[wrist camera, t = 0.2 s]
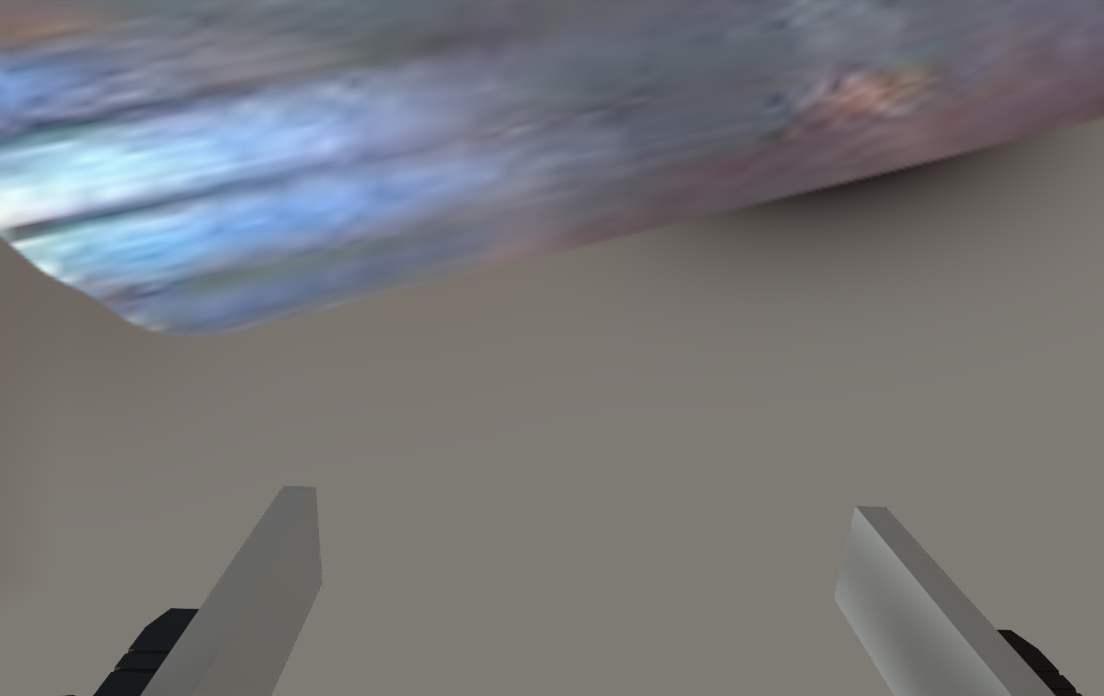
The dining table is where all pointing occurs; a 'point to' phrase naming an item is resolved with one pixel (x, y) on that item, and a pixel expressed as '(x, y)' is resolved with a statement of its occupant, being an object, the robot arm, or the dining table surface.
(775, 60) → the dining table surface
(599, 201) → the dining table surface
